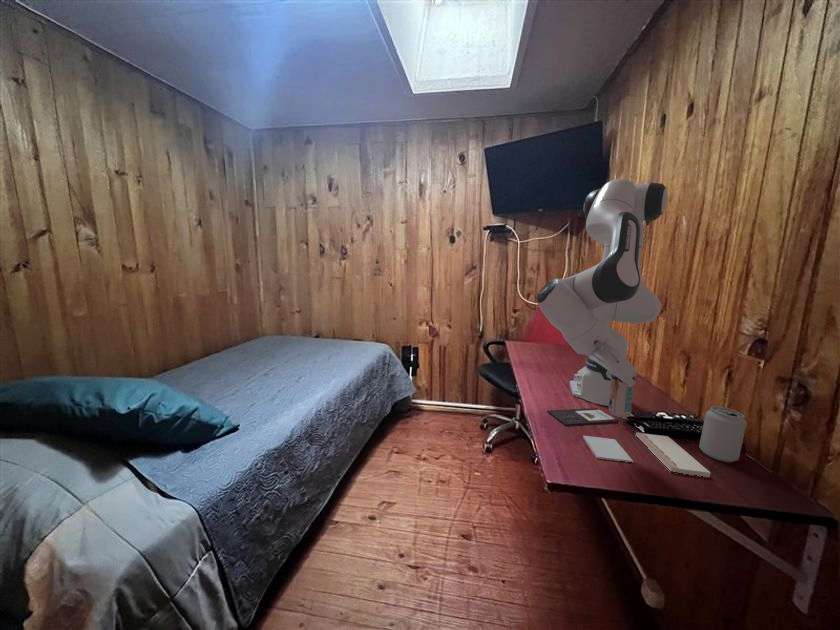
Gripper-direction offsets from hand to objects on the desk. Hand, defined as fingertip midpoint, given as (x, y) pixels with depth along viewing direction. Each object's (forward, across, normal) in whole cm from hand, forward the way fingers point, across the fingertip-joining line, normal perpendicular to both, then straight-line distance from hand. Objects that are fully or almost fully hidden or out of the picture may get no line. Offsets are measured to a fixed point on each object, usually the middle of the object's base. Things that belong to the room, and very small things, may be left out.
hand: (625, 380), depth 80 cm
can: (+32, +4, -5) cm, 32 cm away
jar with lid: (+6, 0, +7) cm, 9 cm away
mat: (+12, 0, +14) cm, 19 cm away
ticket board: (+22, +1, +4) cm, 23 cm away
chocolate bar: (+12, +18, +15) cm, 26 cm away
